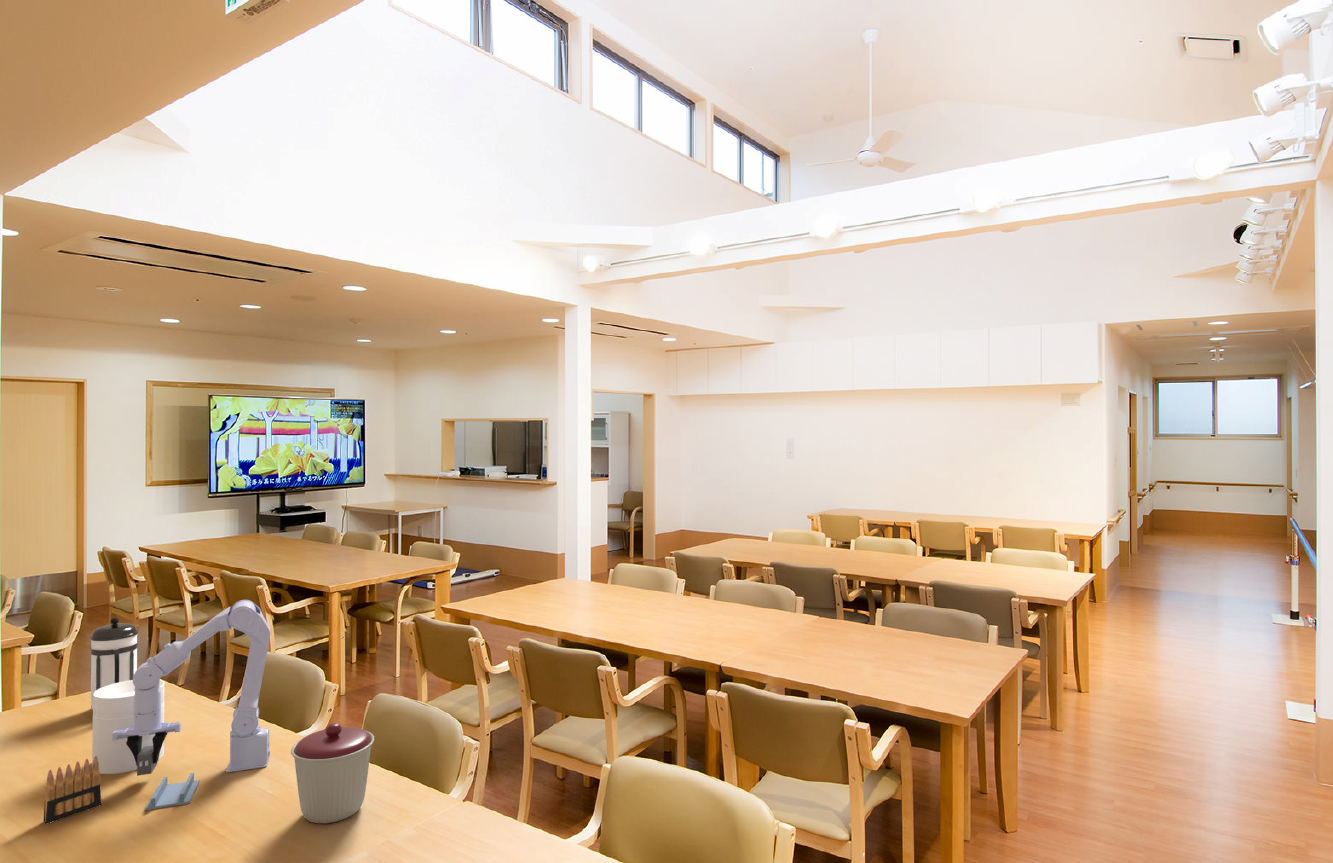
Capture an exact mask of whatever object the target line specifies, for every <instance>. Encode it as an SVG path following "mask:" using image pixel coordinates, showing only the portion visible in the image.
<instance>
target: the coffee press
mask: <svg viewBox="0 0 1333 863" xmlns="http://www.w3.org/2000/svg"><path fill="white" fill-rule="evenodd" d="M109 622H110V623H111V624H106V625H105V624H104V625H102V626H99V627H97V628H95V629H94V630H93V631H92V632H91V635H90V636H89V640H90V642H91V643H90V644H91V646H90V651H89V652H90V659H91V660H90V661H91V662H90V706H91V709H92V710H93V693H94V692H95V691H96V690H98V689H100V688H102V687H105V686H108V685H111V684H115V683H119V682H124V681H129V680H133V676H134V674H135V672H136V670H137V669H138V647H139V641H138V635H139V633H140V632H139V629H138V628H137V626H136V625H134V624H133V623H127V622H126V623H125V622H123V623H122V622H120V619H119V618H118V617H112V618H111V620H110V621H109Z"/></svg>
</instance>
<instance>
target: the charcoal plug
mask: <svg viewBox="0 0 1333 863" xmlns="http://www.w3.org/2000/svg"><path fill="white" fill-rule="evenodd" d="M153 753H154V750H153V746H146V747H143V749H142V750H141V751H140V753H139V754H138V756H137V771H136V774H137V775H136V776H144V775H151V774H152V773H153V772H154V770H155V769H156V767H157V765H158V762H157V763H154V764H153Z"/></svg>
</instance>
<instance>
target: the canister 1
mask: <svg viewBox="0 0 1333 863" xmlns="http://www.w3.org/2000/svg"><path fill="white" fill-rule="evenodd" d="M134 689H135V686H134V684H133V680H129V681H124V682H119V683H115V684H111V685H108V686H105V687H102V688H100V689H98V690H96V691H95V692H94V693H93V709H92V741H91V742H92V746H91V747H92V749H91V750H92V752H91V754H92V755H91V756H92V758H91V761H92V762H91V763H92V764H91V768H92V767H93V760H94V757H95V756H97V758H98V763H99V772H100V775H113V774H123V773H129V772H134V771H136V769H137V766H136V761H135V758H134V756H133V753H132V752H131V750H130V749H129V747H128V746H127V744H126V742H127V738H123V739H118V740H114V741H113V732H114V731H115V730H121V729H126V728H131V727H134V694H135V691H134ZM160 690H161V723H165V681H164V680H162V679H160ZM154 736H155V734H153V735H145V736H143V737H142V749H143V747H146V746H153V741H152V739H153V737H154ZM164 752H165V741H164V742H163V744H162V747H161V750H160V753H159V759H158V761H160V760H161V759H162V758H163V757H164V755H165V753H164ZM162 756H163V757H162ZM161 757H162V758H161Z"/></svg>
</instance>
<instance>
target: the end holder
mask: <svg viewBox="0 0 1333 863" xmlns="http://www.w3.org/2000/svg"><path fill="white" fill-rule="evenodd" d="M199 784H200V779H196V780H195V772H191V773H189V776H188V778H187V779H186V781H183V782H177V783H175V782H174V783H169V784H168V776H164V777H163V778H162V780H161V781H160V783H159V785H158V786H157V787H156V788H155V791H154V793H153V794H152V796H151V797H150V800H149V801H148V802H147V804H146V806H145V808H144V810H146V811H150V810H151V809H152V810H156V808H158V809H165V808H170V807H176V806H181V805H182V804H183V805H188V804H187V803H189V804H190V803H191V800H192V799H193V796H194V795H195V793H194V792H196V791H197V788H198V786H199ZM197 785H198V786H197ZM195 790H196V791H195Z"/></svg>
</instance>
